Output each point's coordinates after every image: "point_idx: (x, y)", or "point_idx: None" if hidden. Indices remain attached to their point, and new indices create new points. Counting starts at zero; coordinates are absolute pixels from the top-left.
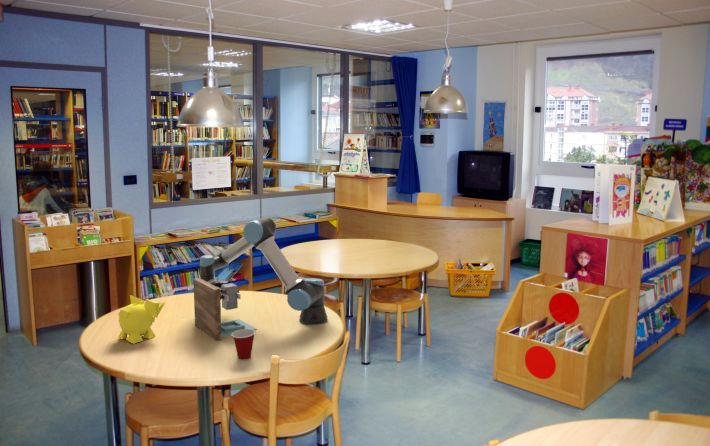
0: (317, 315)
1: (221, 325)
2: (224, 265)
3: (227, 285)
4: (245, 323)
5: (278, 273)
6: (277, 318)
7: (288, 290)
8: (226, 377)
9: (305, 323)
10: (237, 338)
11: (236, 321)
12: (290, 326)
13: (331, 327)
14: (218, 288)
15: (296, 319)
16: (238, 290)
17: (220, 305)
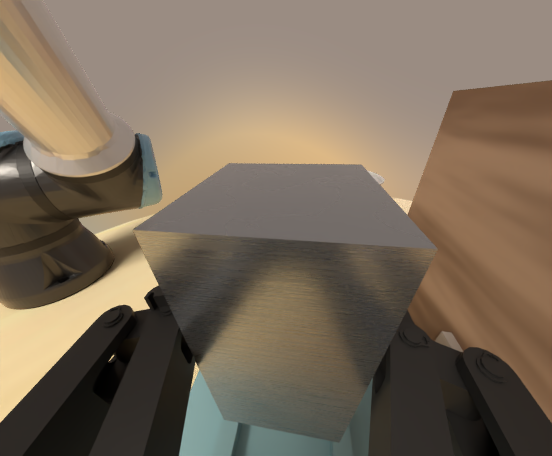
0: (93, 234)
1: (337, 446)
2: None
3: (314, 188)
4: (187, 416)
5: (69, 63)
6: (44, 372)
7: (136, 145)
8: (394, 198)
9: (110, 265)
10: (374, 176)
11: (221, 448)
12: (147, 275)
13: (125, 229)
14: (468, 89)
15: (59, 308)
16: (122, 306)
17: (414, 198)
